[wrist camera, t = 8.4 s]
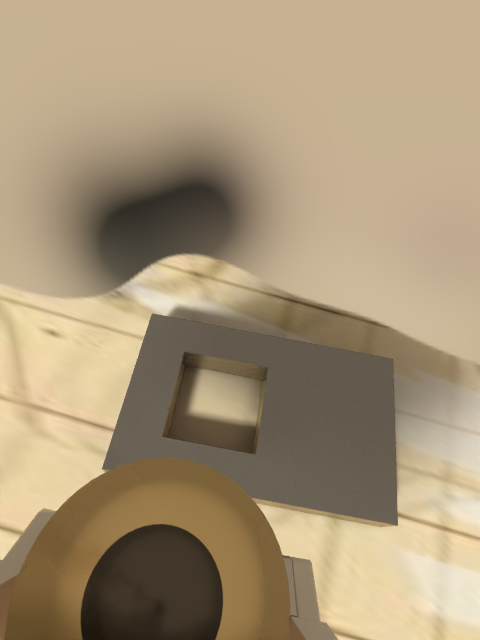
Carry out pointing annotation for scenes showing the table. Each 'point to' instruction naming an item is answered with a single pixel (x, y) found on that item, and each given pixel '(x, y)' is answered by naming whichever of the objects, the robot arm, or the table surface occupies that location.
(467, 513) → the table surface
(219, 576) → the bushing
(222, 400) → the table surface
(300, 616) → the robot arm
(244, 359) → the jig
